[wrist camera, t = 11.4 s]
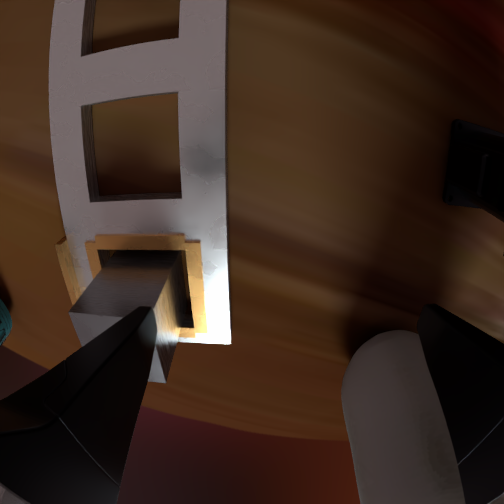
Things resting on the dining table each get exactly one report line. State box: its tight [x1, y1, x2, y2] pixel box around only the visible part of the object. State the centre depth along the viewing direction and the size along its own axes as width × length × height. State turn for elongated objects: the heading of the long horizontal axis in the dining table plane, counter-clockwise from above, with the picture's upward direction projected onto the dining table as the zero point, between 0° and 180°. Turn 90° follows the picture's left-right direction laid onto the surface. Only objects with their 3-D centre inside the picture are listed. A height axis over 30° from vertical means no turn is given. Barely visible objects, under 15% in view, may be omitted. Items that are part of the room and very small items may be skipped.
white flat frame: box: [49, 0, 232, 344], centre depth 17 cm, size 13×30×2 cm, turn 179°
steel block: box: [69, 250, 187, 383], centre depth 19 cm, size 5×5×8 cm
